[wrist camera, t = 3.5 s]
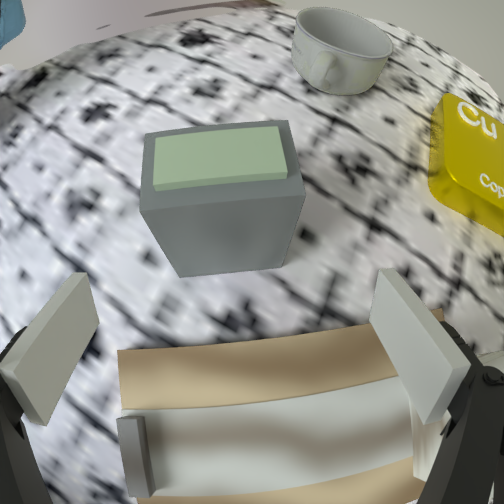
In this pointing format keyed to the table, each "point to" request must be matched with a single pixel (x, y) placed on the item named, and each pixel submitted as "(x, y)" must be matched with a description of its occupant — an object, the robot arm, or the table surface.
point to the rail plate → (275, 422)
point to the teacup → (338, 50)
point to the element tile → (467, 161)
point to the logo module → (222, 195)
